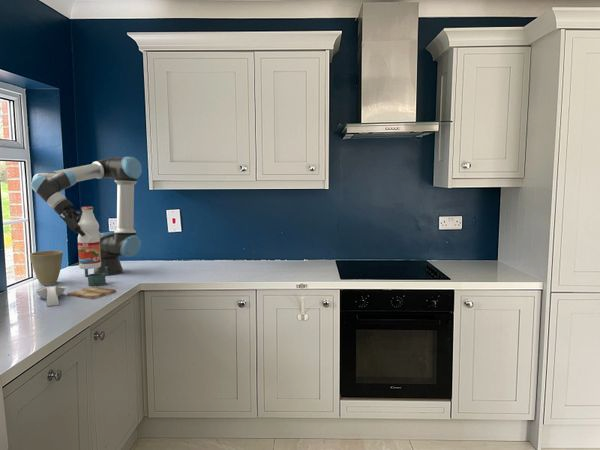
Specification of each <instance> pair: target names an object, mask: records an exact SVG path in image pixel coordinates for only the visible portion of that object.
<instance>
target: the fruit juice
mask: <svg viewBox="0 0 600 450" xmlns="http://www.w3.org/2000/svg"><path fill="white" fill-rule="evenodd" d="M93 211H94V207H93V206H81V213H82V216H81V219H80V221H79V222H77V223H78V224H79V226H80V229H81V228H83V229H84V230H85V231H86V232H87V233H88V234H89V235H90V236H91V237H92V239H91V241H90V242H87V241H86V240H85V239H84V238H83V237H82V236H81V235H80V234H79V233H78V236H77V250H78V251H77V252H78V267H79V269H81V270H85V269H88V270H94V269H95V268H99V267H101V250H100V236H99V233H98V231H100V230H99V229H100V225H99V222H98V220H97V219H96V217H95V214H94V212H93Z"/></svg>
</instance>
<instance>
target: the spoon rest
mask: <svg viewBox="0 0 600 450" xmlns="http://www.w3.org/2000/svg"><path fill="white" fill-rule="evenodd" d="M65 289H66V287H65V286H57V285H55V286H52V287H47V286H46V287H44V288H40V289H37V290H35V292H36V294H37V295H38V296H40V297H41V298H43V299H44V300H46V307H52V306H53V307H54V306H59V305H60V302H59V297H60V296H62V295H63V294H64V292H65Z"/></svg>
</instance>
